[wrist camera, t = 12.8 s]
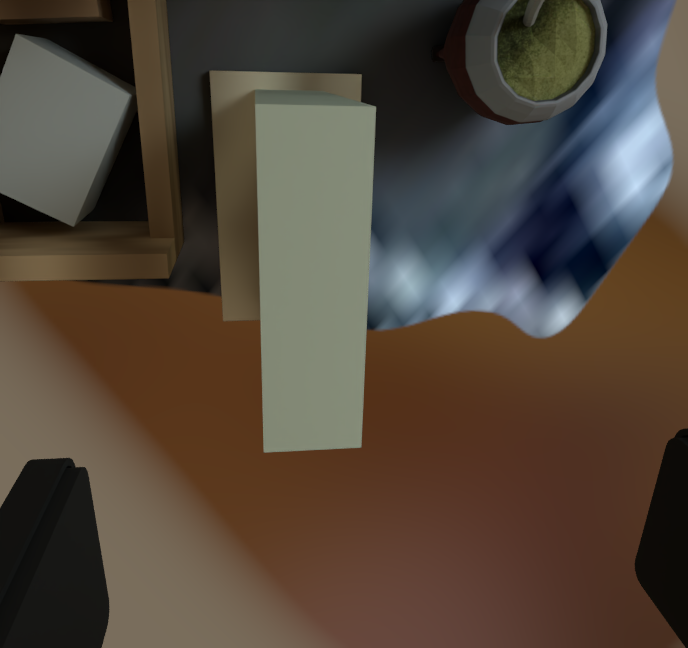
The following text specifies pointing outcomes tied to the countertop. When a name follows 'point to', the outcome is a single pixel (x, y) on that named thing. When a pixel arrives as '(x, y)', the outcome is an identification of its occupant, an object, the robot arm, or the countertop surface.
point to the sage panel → (313, 265)
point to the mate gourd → (524, 56)
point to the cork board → (249, 173)
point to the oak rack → (160, 182)
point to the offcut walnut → (54, 11)
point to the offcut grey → (59, 128)
